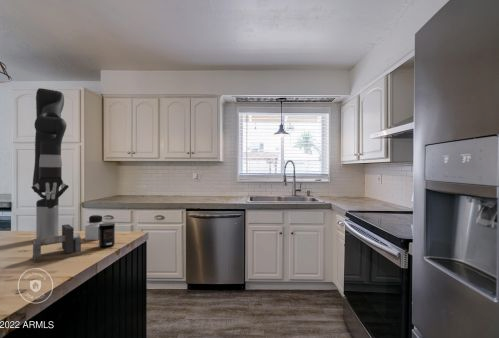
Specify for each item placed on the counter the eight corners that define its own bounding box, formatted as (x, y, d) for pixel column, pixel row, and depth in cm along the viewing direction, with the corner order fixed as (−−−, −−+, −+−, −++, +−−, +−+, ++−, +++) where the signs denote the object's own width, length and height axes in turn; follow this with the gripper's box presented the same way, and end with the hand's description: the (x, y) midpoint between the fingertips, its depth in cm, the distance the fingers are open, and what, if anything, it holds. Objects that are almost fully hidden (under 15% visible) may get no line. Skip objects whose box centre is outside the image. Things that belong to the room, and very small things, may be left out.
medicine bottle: (98, 240, 145) (98, 216, 145) (84, 240, 145) (84, 216, 145) (105, 236, 152) (106, 214, 152) (92, 236, 152) (92, 214, 152)
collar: (61, 247, 124) (62, 225, 124) (68, 246, 126) (68, 224, 126) (66, 253, 117) (66, 228, 117) (73, 252, 118) (73, 228, 118)
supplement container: (110, 243, 139) (110, 222, 139) (117, 246, 135) (117, 224, 135) (96, 246, 134) (96, 224, 134) (102, 249, 130) (102, 226, 130)
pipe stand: (32, 258, 116) (32, 236, 116) (77, 250, 127) (77, 231, 127) (34, 263, 110) (35, 240, 110) (81, 254, 121) (81, 234, 121)
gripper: (67, 166, 124) (67, 205, 124) (29, 165, 115) (29, 208, 115) (71, 166, 118) (70, 208, 119) (31, 166, 109) (31, 211, 110)
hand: (50, 208), depth 117 cm, fingers closed
